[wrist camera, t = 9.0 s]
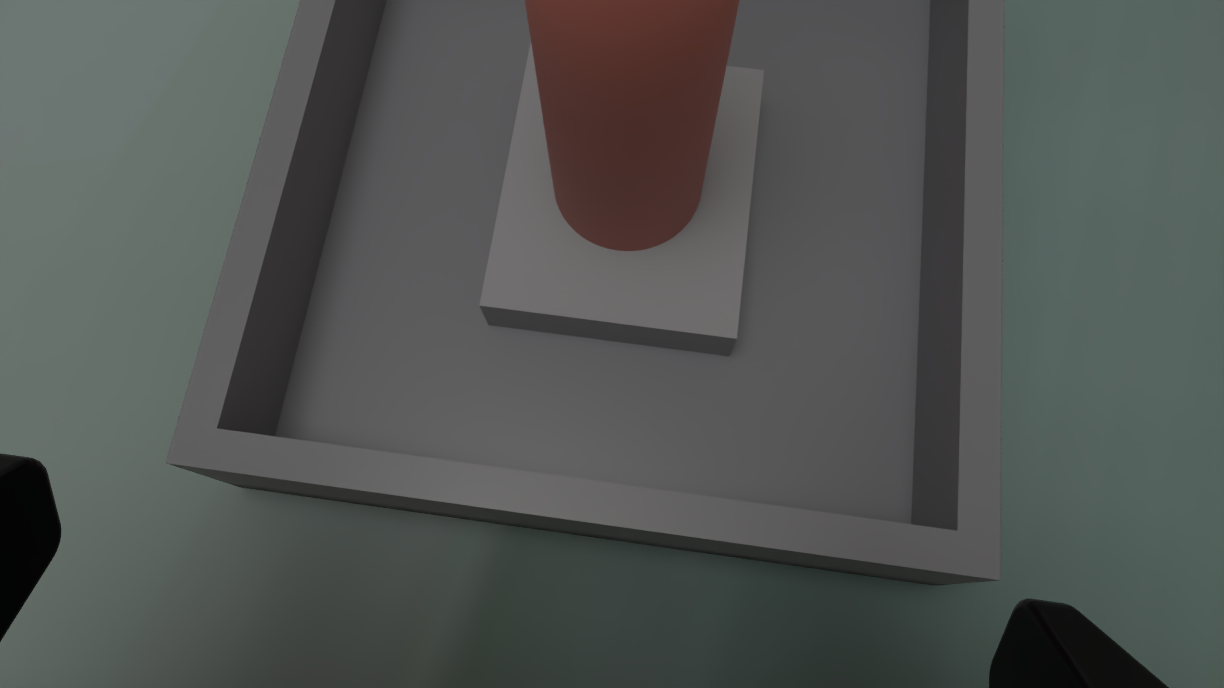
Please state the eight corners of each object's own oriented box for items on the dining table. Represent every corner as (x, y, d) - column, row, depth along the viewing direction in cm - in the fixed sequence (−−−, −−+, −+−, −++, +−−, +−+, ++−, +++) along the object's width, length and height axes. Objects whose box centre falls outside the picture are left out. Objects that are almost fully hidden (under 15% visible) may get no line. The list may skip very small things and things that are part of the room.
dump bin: (935, 585, 17) (1000, 580, 14) (239, 486, 18) (165, 463, 15) (952, -10, 21) (1005, -107, 18) (386, -71, 22) (351, -175, 19)
